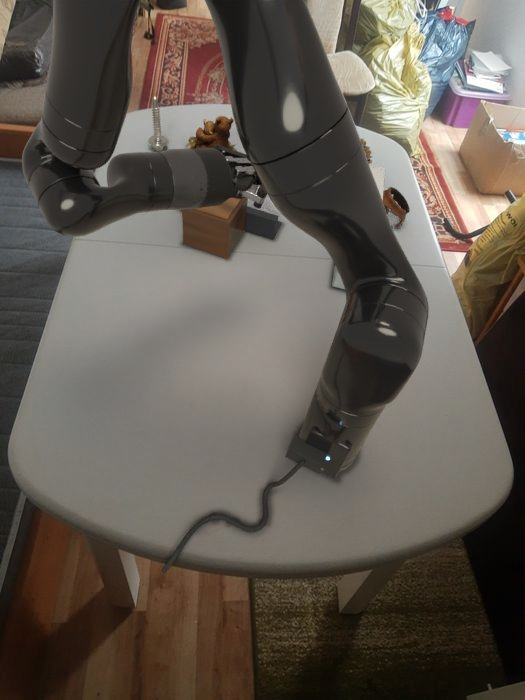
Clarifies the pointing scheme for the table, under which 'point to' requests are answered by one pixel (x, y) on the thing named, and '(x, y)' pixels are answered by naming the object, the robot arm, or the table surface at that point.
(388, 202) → the brown round legged piece
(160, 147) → the screw
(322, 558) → the table surface
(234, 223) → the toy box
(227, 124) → the bear figurine
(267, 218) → the stop rail
